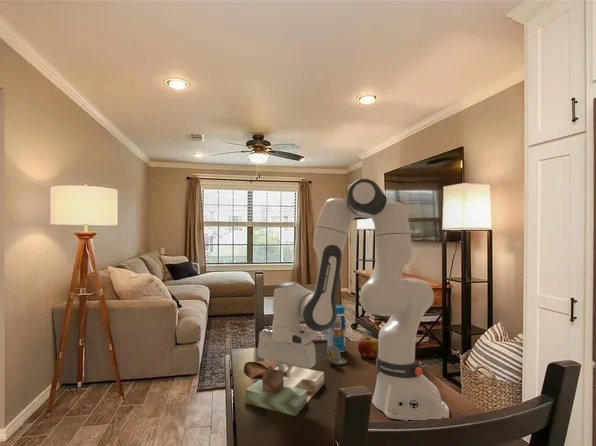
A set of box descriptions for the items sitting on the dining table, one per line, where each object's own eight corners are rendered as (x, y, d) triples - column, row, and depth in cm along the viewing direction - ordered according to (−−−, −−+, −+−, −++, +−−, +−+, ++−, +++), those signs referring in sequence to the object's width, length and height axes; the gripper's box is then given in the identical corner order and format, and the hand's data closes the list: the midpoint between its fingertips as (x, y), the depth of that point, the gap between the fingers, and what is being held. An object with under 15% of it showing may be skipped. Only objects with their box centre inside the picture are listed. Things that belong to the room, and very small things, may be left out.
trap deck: (323, 383, 121) (324, 372, 121) (295, 416, 99) (295, 402, 99) (280, 374, 128) (281, 363, 128) (245, 402, 106) (245, 389, 106)
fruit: (353, 356, 149) (353, 337, 149) (364, 351, 156) (364, 333, 156) (373, 362, 143) (373, 342, 143) (383, 356, 150) (384, 338, 150)
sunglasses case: (249, 379, 123) (247, 360, 126) (244, 382, 129) (243, 364, 132) (295, 373, 130) (292, 354, 133) (289, 376, 135) (287, 358, 139)
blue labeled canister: (323, 350, 156) (324, 305, 156) (333, 345, 162) (334, 303, 163) (338, 354, 150) (339, 308, 151) (349, 350, 157) (350, 305, 157)
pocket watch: (347, 360, 144) (347, 336, 144) (346, 368, 136) (346, 342, 136) (327, 358, 146) (328, 334, 146) (325, 366, 137) (326, 340, 138)
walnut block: (283, 386, 109) (283, 370, 109) (277, 393, 104) (277, 377, 104) (268, 384, 111) (269, 368, 111) (262, 390, 106) (262, 374, 106)
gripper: (254, 330, 114) (253, 373, 113) (309, 340, 104) (308, 387, 103) (264, 326, 119) (264, 367, 119) (318, 335, 109) (317, 379, 109)
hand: (285, 376), depth 111 cm, fingers closed
